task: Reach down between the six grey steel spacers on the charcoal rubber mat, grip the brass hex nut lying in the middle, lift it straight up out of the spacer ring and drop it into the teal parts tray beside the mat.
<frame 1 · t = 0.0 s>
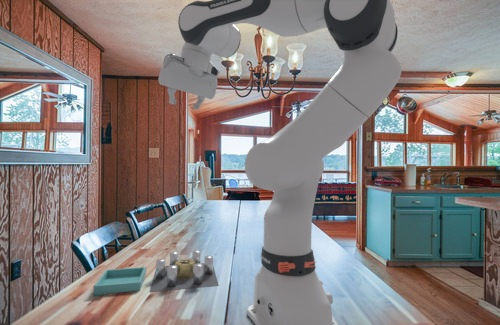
hand: (184, 106, 85), 52 cm above the table, tool tilted 20°, fingers open, 8 cm apart
brass nut: (185, 268, 80), on the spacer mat
parts tray: (122, 284, 75), on the table
steel spacers: (185, 266, 80), on the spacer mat
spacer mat: (185, 276, 80), on the table
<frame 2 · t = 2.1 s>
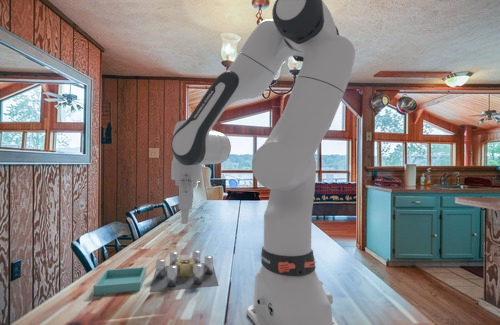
hand: (184, 219, 81), 17 cm above the table, tool pointing down, fingers open, 8 cm apart
nothing on the table moved.
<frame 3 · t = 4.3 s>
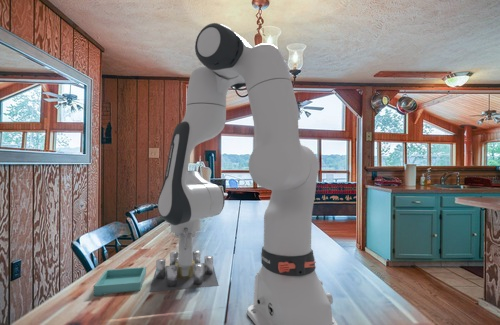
hand: (185, 270, 80), 2 cm above the table, tool pointing down, fingers closed on brass nut, 5 cm apart
brass nut: (185, 268, 80), on the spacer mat, touching gripper
everything else where it was.
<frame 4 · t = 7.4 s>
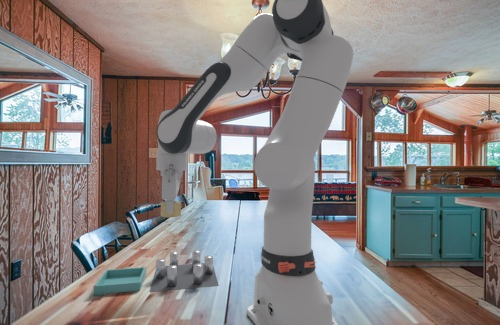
hand: (170, 211, 80), 20 cm above the table, tool pointing down, fingers closed on brass nut, 5 cm apart
brass nut: (170, 208, 80), point 20 cm above the table, touching gripper
everything else where it was.
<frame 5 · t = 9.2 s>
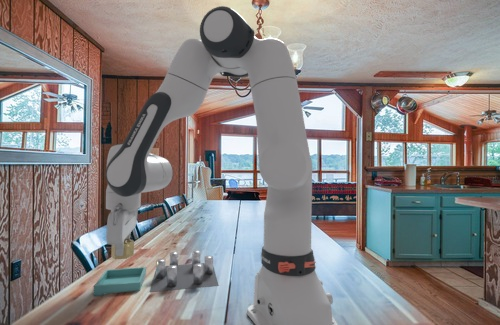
hand: (122, 251, 75), 9 cm above the table, tool pointing down, fingers closed on brass nut, 5 cm apart
brass nut: (122, 248, 75), point 10 cm above the table, touching gripper
everything else where it was.
when the fingers open (4 cm above the table, at t = 10.7 s): brass nut drops 2 cm, resting on parts tray.
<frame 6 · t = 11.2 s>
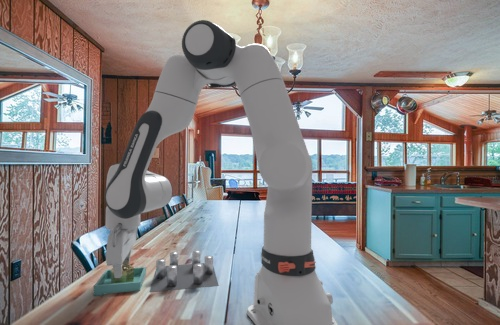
hand: (122, 270, 75), 4 cm above the table, tool pointing down, fingers open, 8 cm apart
brass nut: (122, 275, 75), in the parts tray, point 3 cm above the table
everything else where it was.
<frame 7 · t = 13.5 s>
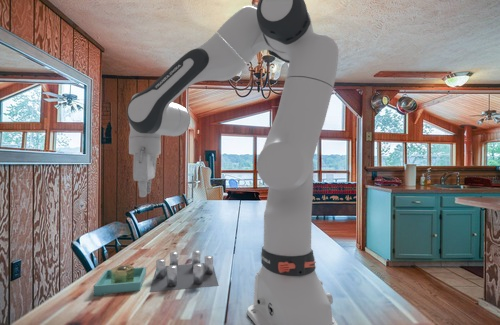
hand: (145, 195, 79), 24 cm above the table, tool pointing down, fingers open, 8 cm apart
nothing on the table moved.
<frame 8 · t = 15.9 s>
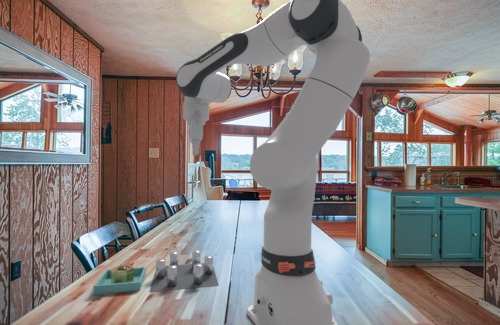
hand: (195, 154, 92), 37 cm above the table, tool pointing down, fingers open, 8 cm apart
nothing on the table moved.
at the end: brass nut inside the target area on the parts tray (0.1 cm from its centre), point 2.7 cm above the parts tray's base; the gripper is holding nothing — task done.
